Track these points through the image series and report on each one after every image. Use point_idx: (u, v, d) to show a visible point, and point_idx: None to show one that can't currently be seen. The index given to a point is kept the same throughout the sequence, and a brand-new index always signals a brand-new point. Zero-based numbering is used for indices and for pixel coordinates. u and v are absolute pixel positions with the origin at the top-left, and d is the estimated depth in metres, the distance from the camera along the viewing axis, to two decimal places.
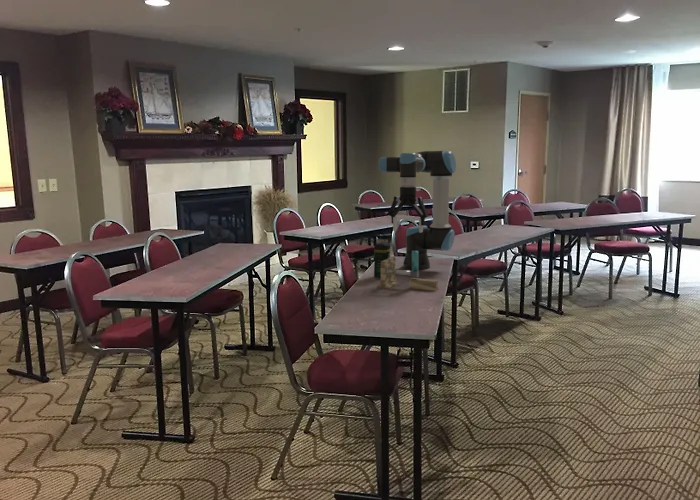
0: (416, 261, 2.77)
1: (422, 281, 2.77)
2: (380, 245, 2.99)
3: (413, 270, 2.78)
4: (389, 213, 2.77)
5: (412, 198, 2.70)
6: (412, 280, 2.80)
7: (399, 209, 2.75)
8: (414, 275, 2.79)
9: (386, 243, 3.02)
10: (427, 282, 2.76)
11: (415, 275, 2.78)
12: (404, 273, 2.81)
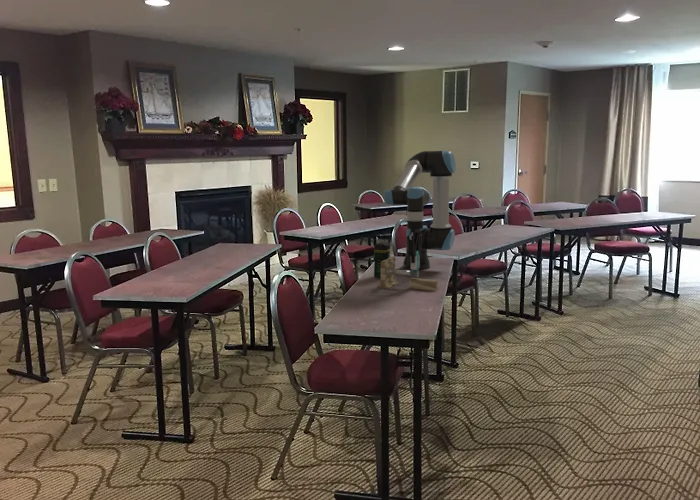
0: None
1: (422, 281, 2.77)
2: (380, 245, 2.99)
3: (413, 270, 2.78)
4: None
5: None
6: (412, 280, 2.80)
7: (416, 244, 2.79)
8: (414, 275, 2.79)
9: (386, 243, 3.02)
10: (427, 282, 2.76)
11: (415, 275, 2.78)
12: (404, 273, 2.81)
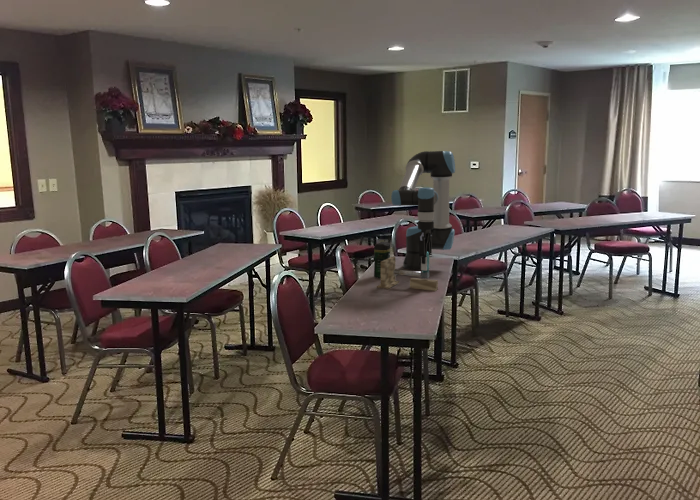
0: None
1: (422, 281, 2.77)
2: (380, 245, 2.99)
3: (423, 271, 2.76)
4: None
5: None
6: (412, 280, 2.80)
7: None
8: (424, 276, 2.76)
9: (386, 243, 3.02)
10: (427, 282, 2.76)
11: (425, 276, 2.76)
12: (414, 274, 2.79)
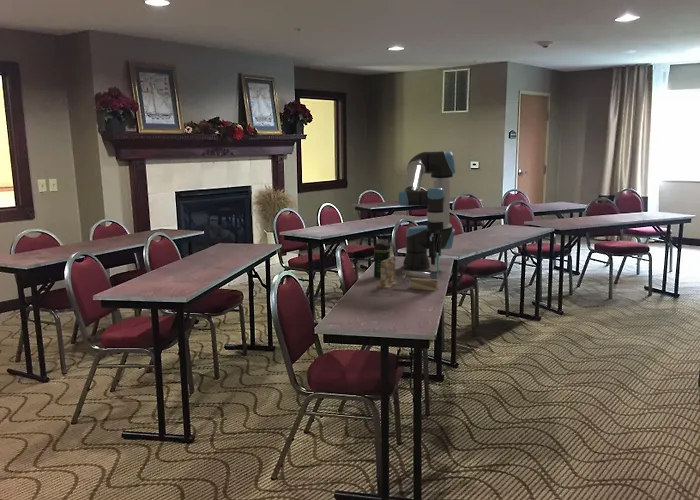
0: None
1: (422, 281, 2.77)
2: (380, 245, 2.99)
3: (433, 272, 2.74)
4: None
5: None
6: (412, 280, 2.80)
7: None
8: (434, 277, 2.74)
9: (386, 243, 3.02)
10: (427, 282, 2.76)
11: (435, 277, 2.74)
12: (423, 275, 2.77)
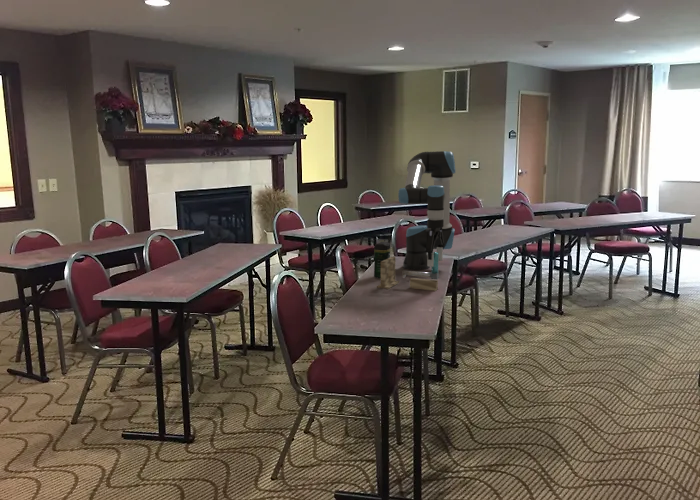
0: (436, 263, 2.73)
1: (422, 281, 2.77)
2: (380, 245, 2.99)
3: (433, 272, 2.74)
4: None
5: None
6: (412, 280, 2.80)
7: (437, 240, 2.77)
8: (434, 277, 2.74)
9: (386, 243, 3.02)
10: (427, 282, 2.76)
11: (435, 277, 2.74)
12: (424, 275, 2.77)
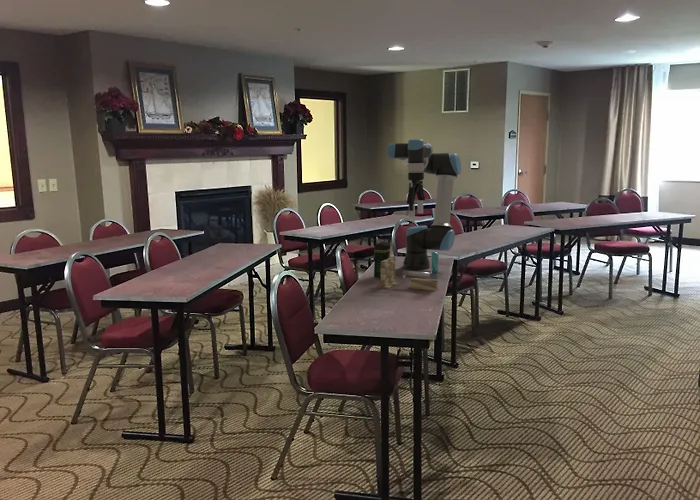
0: (436, 263, 2.73)
1: (422, 281, 2.77)
2: (380, 245, 2.99)
3: (433, 272, 2.74)
4: None
5: None
6: (412, 280, 2.80)
7: (418, 193, 2.87)
8: (434, 277, 2.74)
9: (386, 243, 3.02)
10: (427, 282, 2.76)
11: (435, 277, 2.74)
12: (424, 275, 2.77)
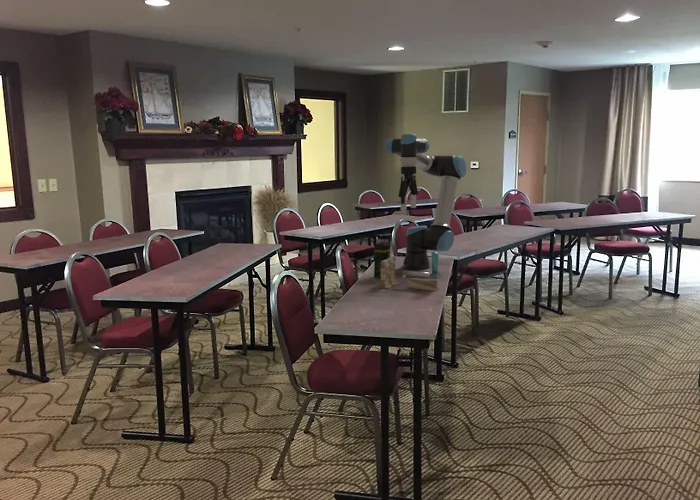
0: (436, 263, 2.73)
1: (422, 281, 2.77)
2: (380, 245, 2.99)
3: (433, 272, 2.74)
4: None
5: None
6: (412, 280, 2.80)
7: (411, 187, 2.91)
8: (434, 277, 2.74)
9: (386, 243, 3.02)
10: (427, 282, 2.76)
11: (435, 277, 2.74)
12: (424, 275, 2.77)
